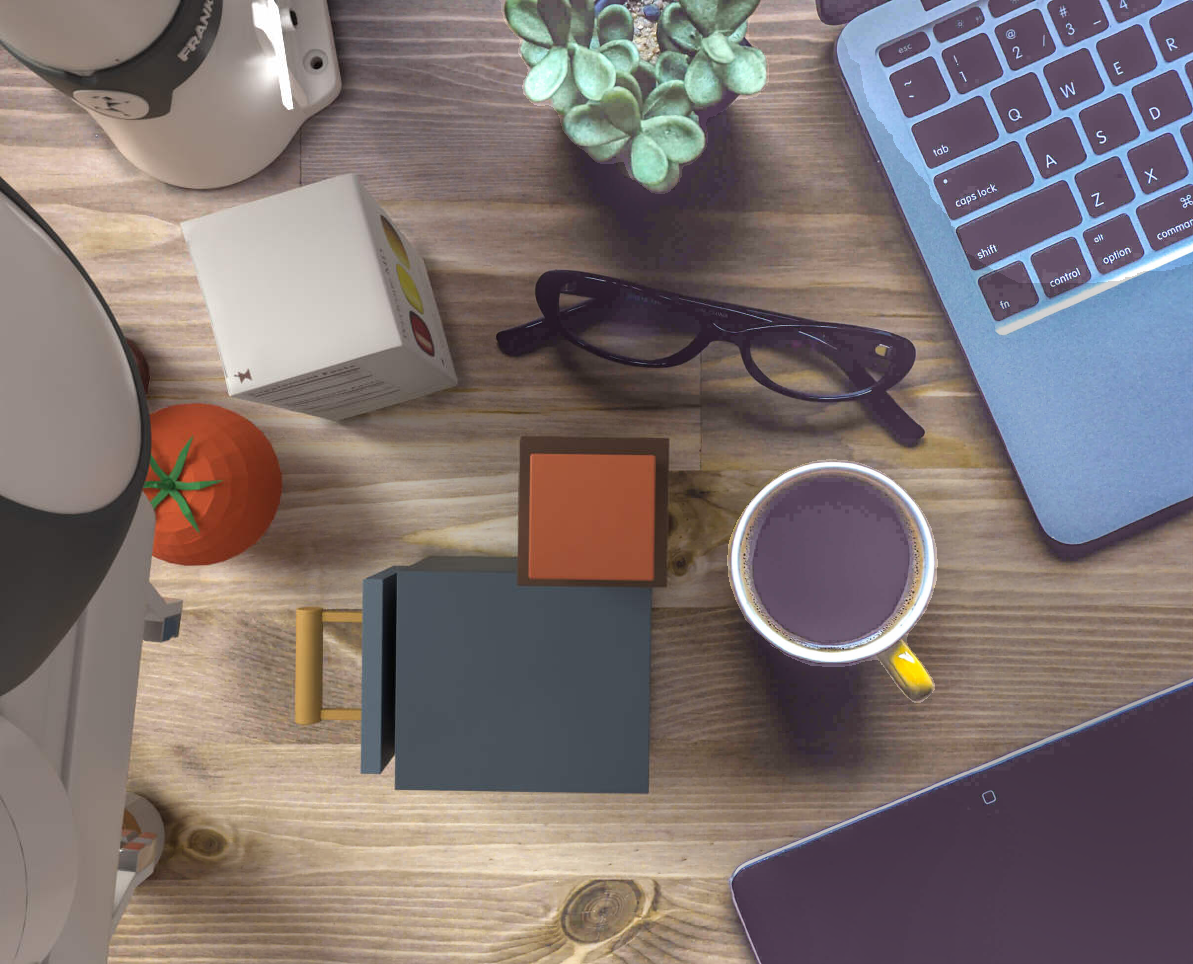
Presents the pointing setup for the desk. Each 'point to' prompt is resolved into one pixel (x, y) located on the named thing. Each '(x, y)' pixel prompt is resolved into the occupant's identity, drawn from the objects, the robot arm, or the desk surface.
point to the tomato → (209, 484)
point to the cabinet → (519, 682)
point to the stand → (595, 447)
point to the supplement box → (319, 302)
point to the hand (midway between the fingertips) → (151, 731)
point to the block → (592, 517)
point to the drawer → (375, 668)
